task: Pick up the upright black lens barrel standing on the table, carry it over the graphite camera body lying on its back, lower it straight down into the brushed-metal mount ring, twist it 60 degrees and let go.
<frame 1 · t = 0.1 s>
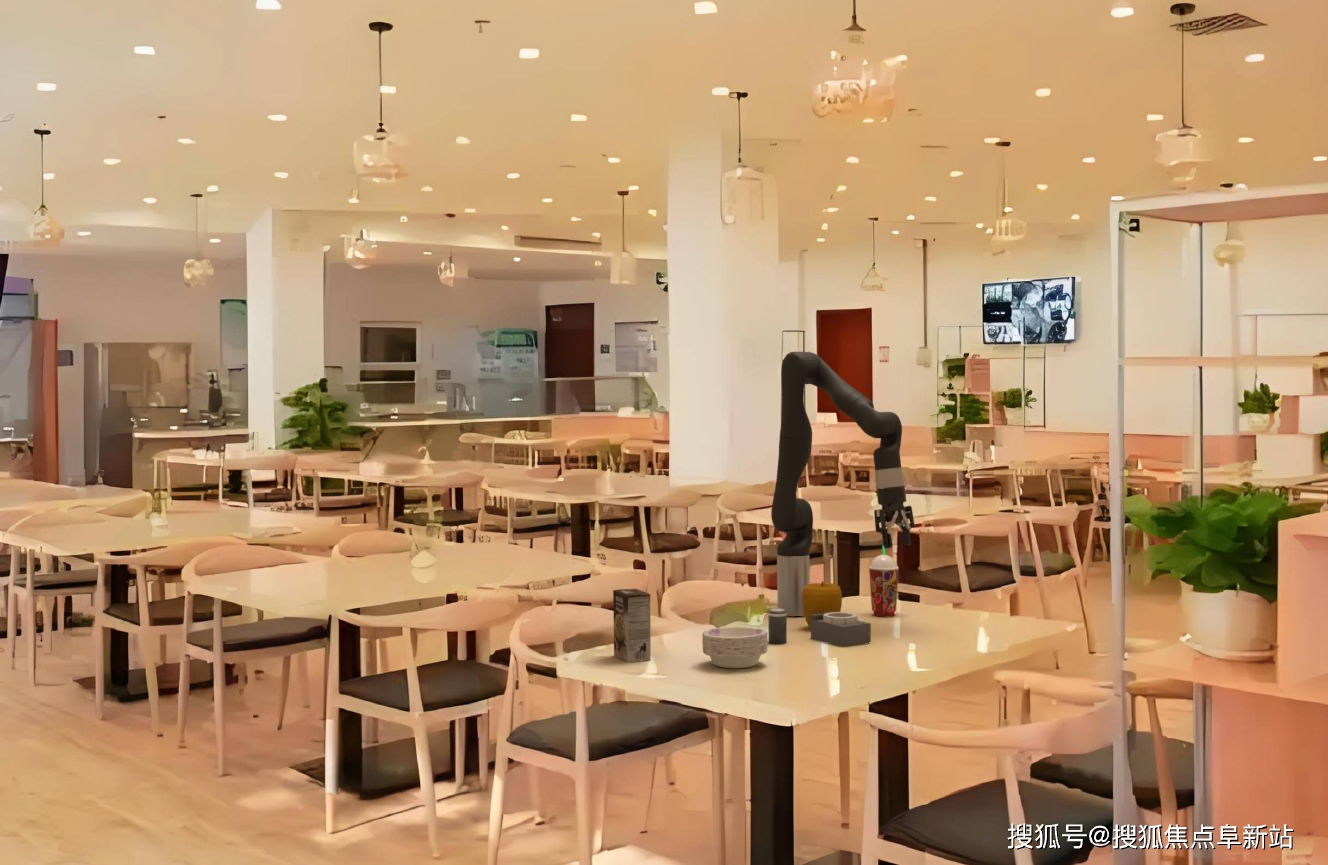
hand: (897, 546, 337), 22 cm above the table, tool pointing down, fingers open, 8 cm apart
lens: (777, 642, 322), on the table
camera body: (840, 640, 324), on the table
apple: (821, 629, 341), on the table
paper bowls: (735, 665, 296), on the table
smoothie: (884, 615, 361), on the table
coffee box: (632, 658, 305), on the table
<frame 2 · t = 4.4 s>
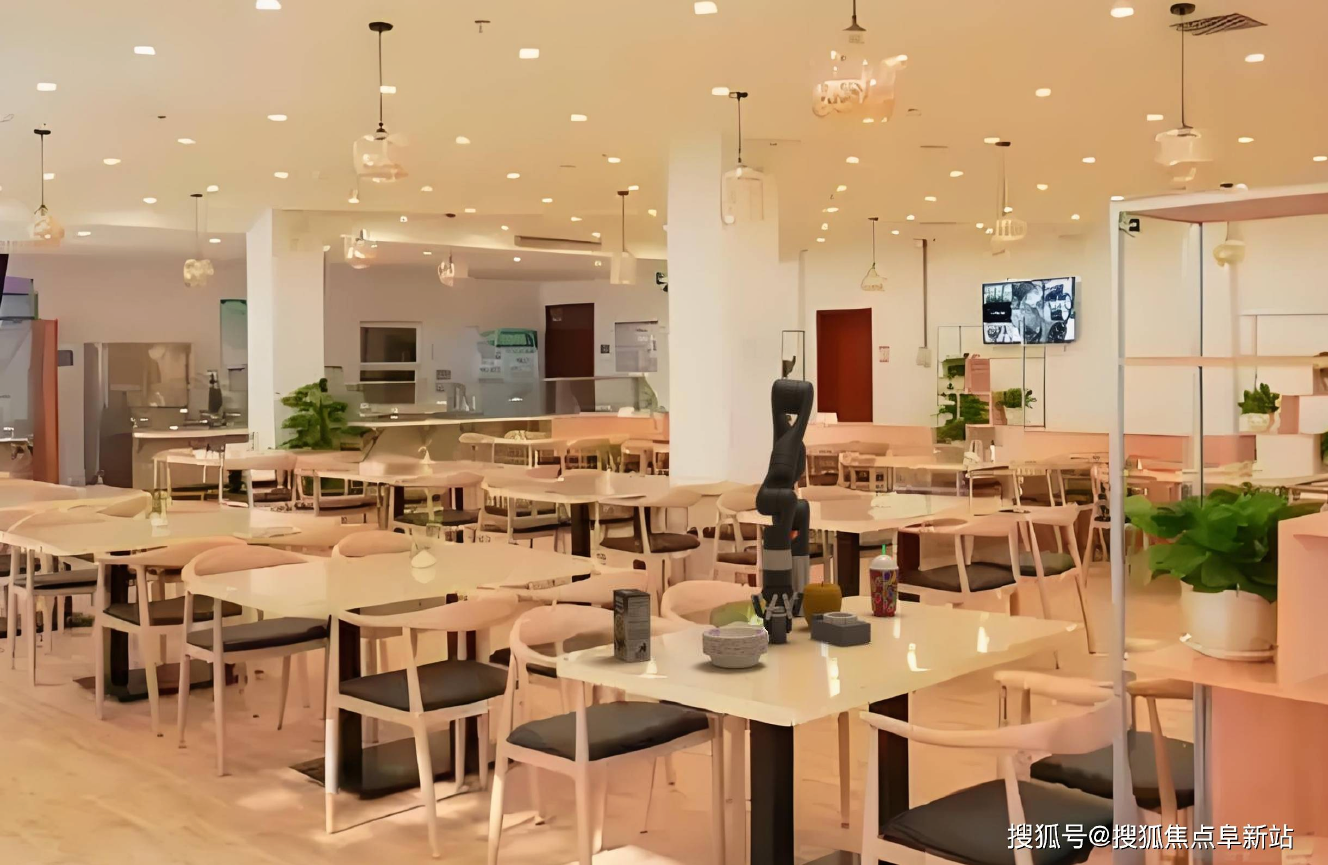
hand: (777, 633, 322), 2 cm above the table, tool pointing down, fingers closed on lens, 4 cm apart
lens: (777, 642, 322), on the table, touching gripper
everything else where it was.
when the fingers open (8 cm above the table, at t = 9.7 s): lens stays where it is, resting on camera body.
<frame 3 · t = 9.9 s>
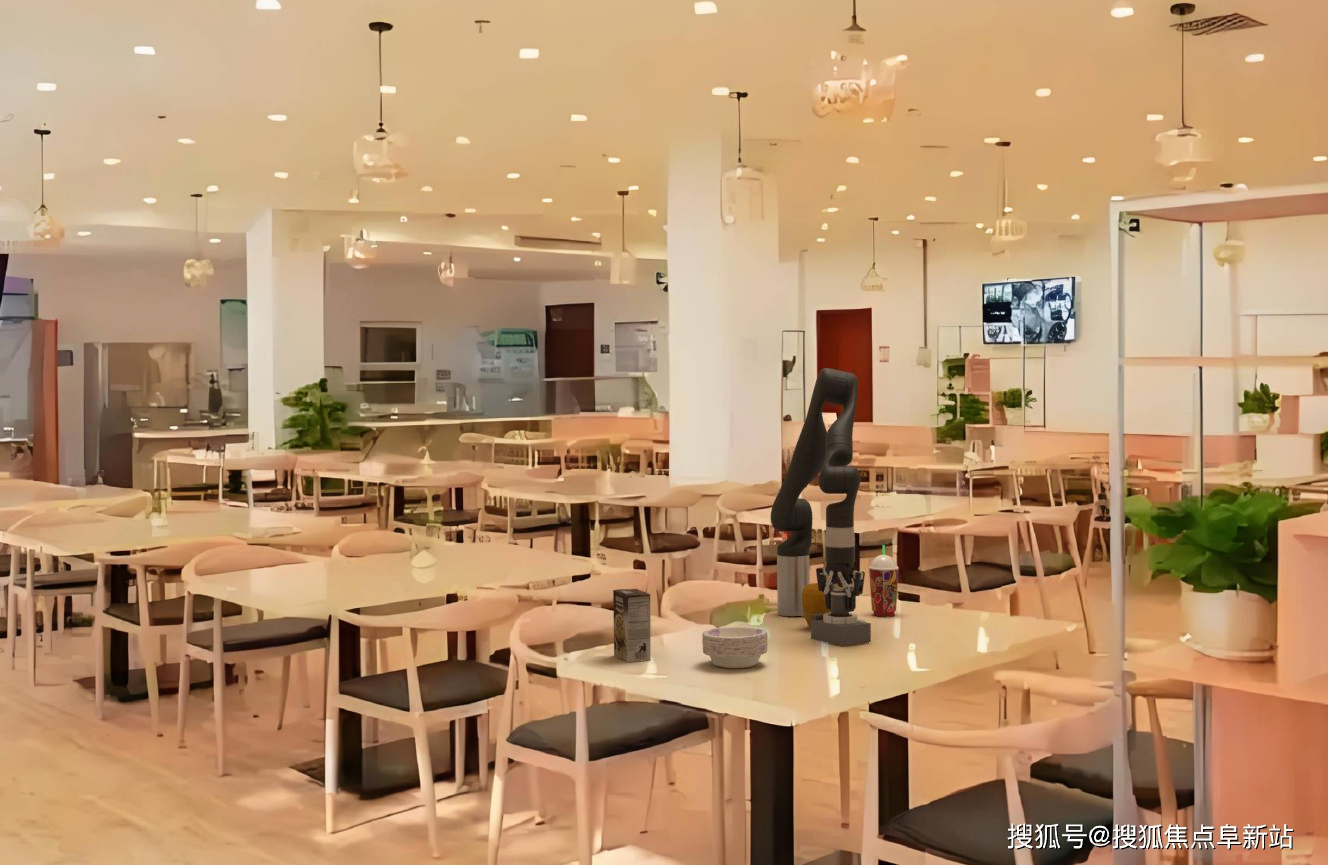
hand: (840, 609, 324), 8 cm above the table, tool pointing down, fingers open, 6 cm apart
lens: (840, 621, 324), point 5 cm above the table, touching camera body
everything else where it was.
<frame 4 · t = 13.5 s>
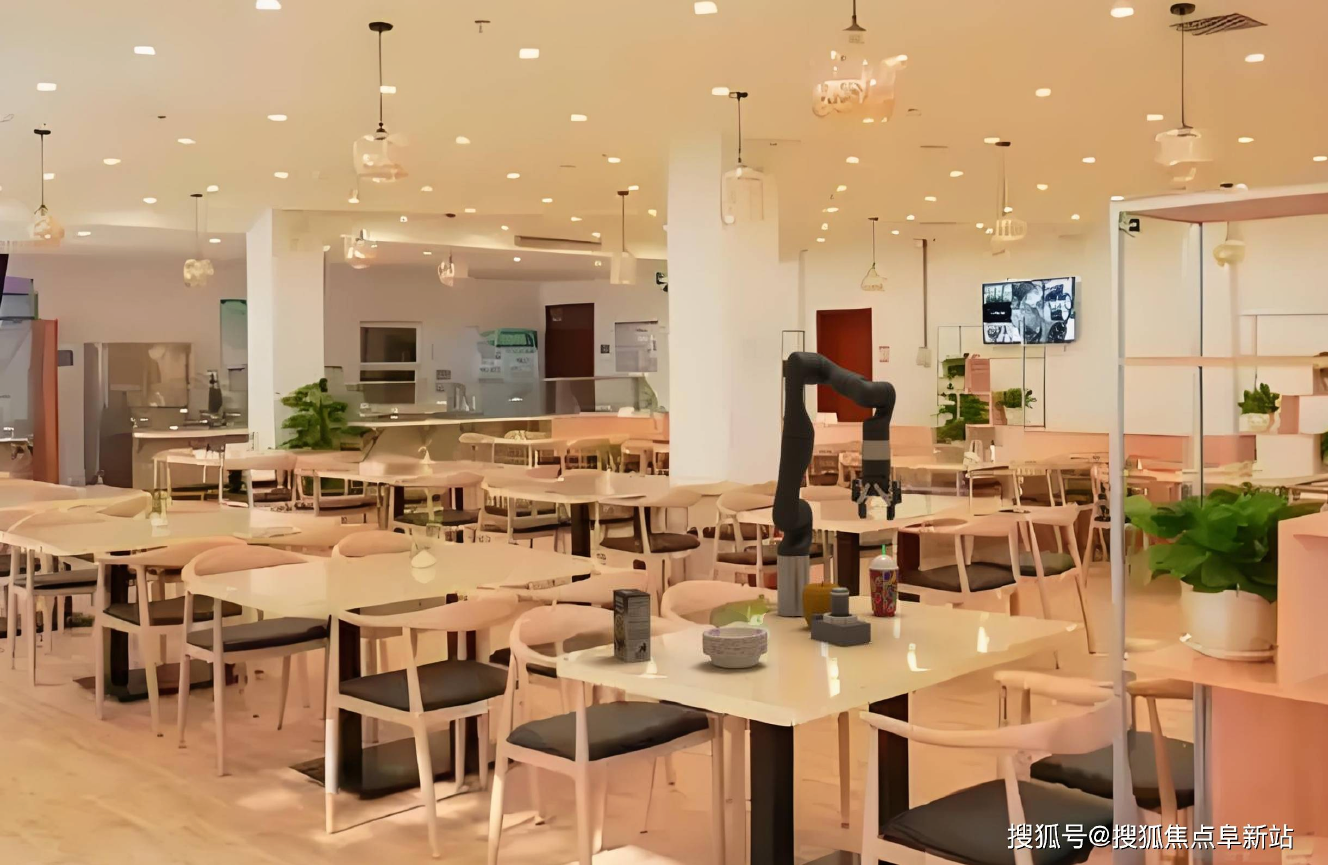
hand: (876, 519, 332), 30 cm above the table, tool pointing down, fingers open, 8 cm apart
nothing on the table moved.
at the end: lens 0.1 cm off-centre on the camera body, point 5.0 cm above the camera body's base; lens tilted 0°; the gripper is holding nothing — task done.
